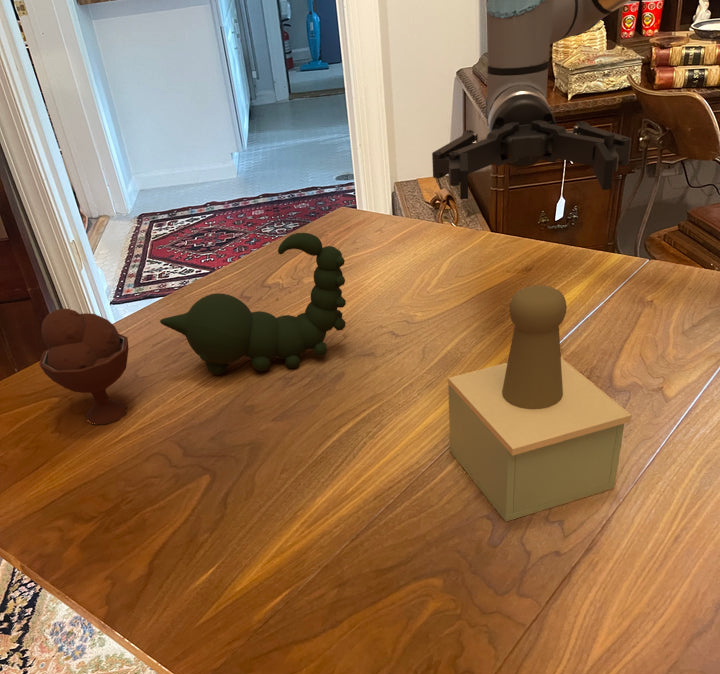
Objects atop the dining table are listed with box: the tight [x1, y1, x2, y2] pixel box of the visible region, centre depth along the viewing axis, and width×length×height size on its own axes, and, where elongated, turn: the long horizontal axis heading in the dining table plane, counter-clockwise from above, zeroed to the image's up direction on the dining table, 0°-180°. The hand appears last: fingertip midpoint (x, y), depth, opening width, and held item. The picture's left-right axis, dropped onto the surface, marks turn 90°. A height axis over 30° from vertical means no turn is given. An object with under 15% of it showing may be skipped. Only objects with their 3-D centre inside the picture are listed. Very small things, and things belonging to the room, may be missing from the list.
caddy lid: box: [447, 357, 632, 456], centre depth 74 cm, size 14×13×1 cm
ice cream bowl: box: [38, 308, 130, 425], centre depth 93 cm, size 11×11×15 cm
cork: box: [502, 284, 568, 409], centre depth 71 cm, size 6×6×11 cm
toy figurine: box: [159, 232, 347, 376], centre depth 99 cm, size 9×19×25 cm
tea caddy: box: [448, 384, 625, 522], centre depth 78 cm, size 14×13×9 cm
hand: (535, 180), depth 71 cm, fingers open, 13 cm apart
